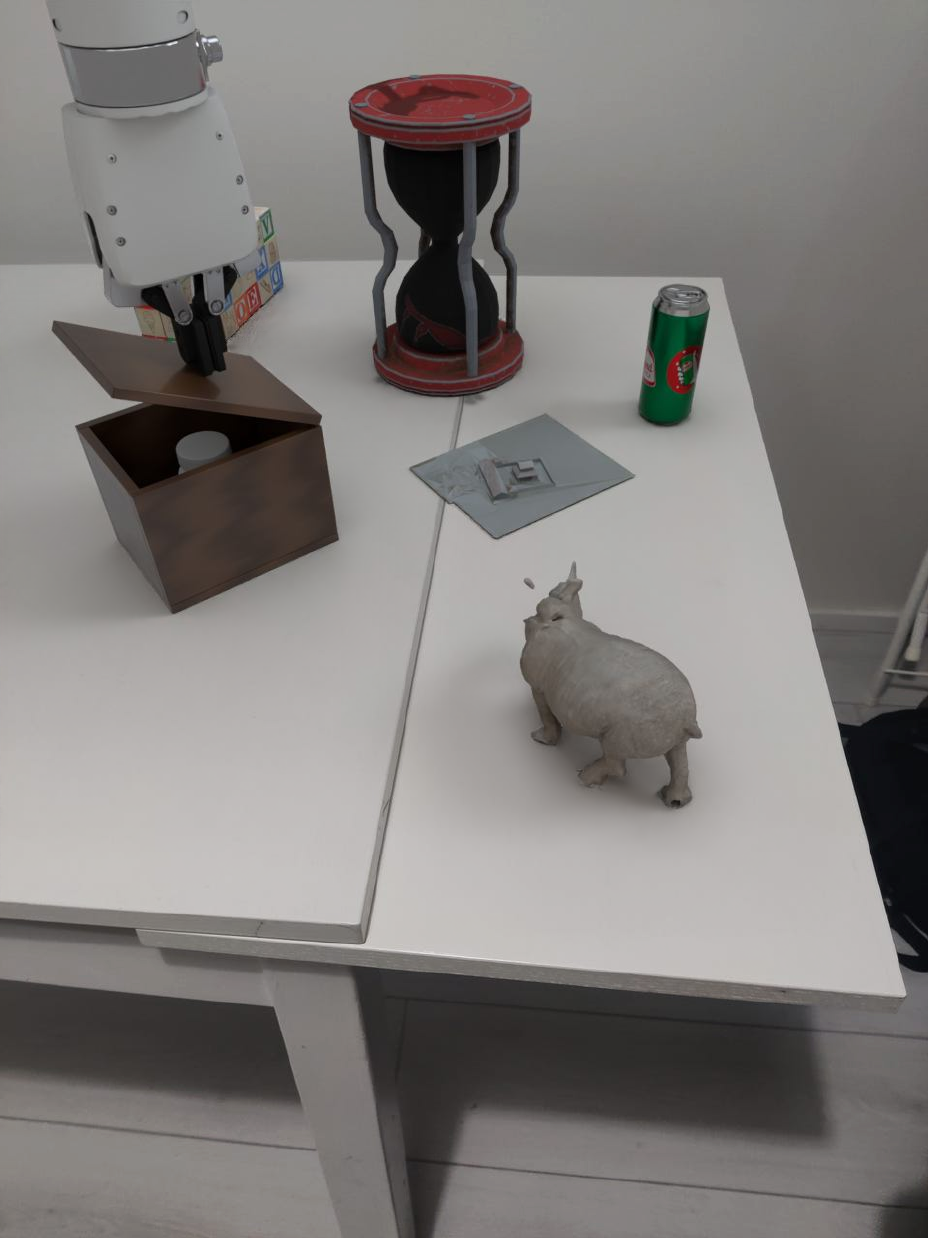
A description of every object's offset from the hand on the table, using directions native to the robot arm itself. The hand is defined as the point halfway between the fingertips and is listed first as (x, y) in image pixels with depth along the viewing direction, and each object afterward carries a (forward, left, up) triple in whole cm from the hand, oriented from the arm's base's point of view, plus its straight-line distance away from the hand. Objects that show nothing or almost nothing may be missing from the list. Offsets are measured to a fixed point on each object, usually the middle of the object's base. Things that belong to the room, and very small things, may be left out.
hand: (207, 365), depth 63 cm
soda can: (+41, -9, -15) cm, 44 cm away
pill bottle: (-2, 0, -14) cm, 15 cm away
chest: (-2, 0, -15) cm, 15 cm away
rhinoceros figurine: (+9, -33, -15) cm, 37 cm away
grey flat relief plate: (+19, -10, -15) cm, 26 cm away
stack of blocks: (+15, +37, -15) cm, 43 cm away
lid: (-2, 0, -1) cm, 2 cm away
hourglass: (+31, +13, -15) cm, 37 cm away
